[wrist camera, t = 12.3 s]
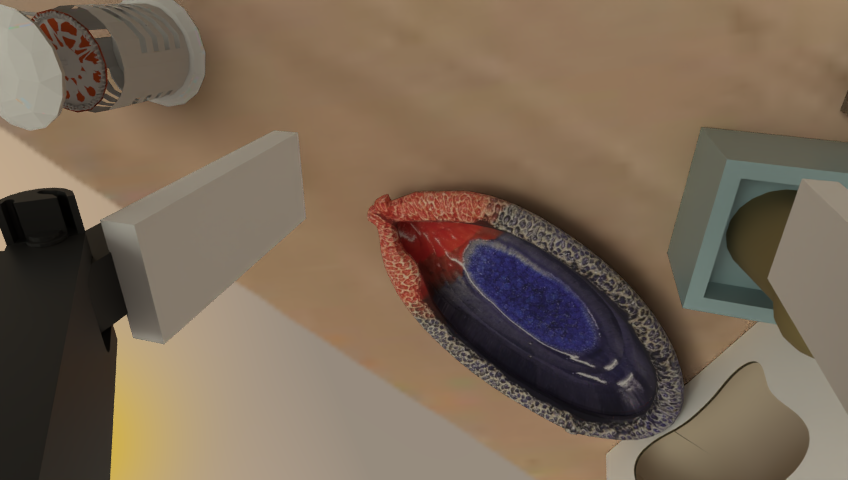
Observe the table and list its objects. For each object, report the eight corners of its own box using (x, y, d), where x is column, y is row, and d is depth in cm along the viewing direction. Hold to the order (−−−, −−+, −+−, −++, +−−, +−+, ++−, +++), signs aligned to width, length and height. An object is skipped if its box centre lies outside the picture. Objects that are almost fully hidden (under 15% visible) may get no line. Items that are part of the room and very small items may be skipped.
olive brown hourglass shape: (845, 188, 32) (953, 272, 22) (827, 279, 34) (917, 390, 25) (731, 189, 34) (785, 268, 24) (720, 276, 36) (766, 378, 27)
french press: (195, 124, 50) (-115, 227, 28) (89, 69, 51) (-293, 126, 29) (215, 20, 45) (-137, 45, 23) (98, -40, 46) (-349, -69, 24)
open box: (701, 127, 38) (727, 159, 31) (863, 144, 36) (932, 183, 29) (667, 253, 43) (682, 307, 35) (809, 275, 40) (858, 339, 33)
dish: (594, 443, 52) (594, 484, 48) (349, 238, 51) (325, 262, 46) (732, 354, 45) (747, 393, 40) (449, 111, 43) (432, 124, 39)
